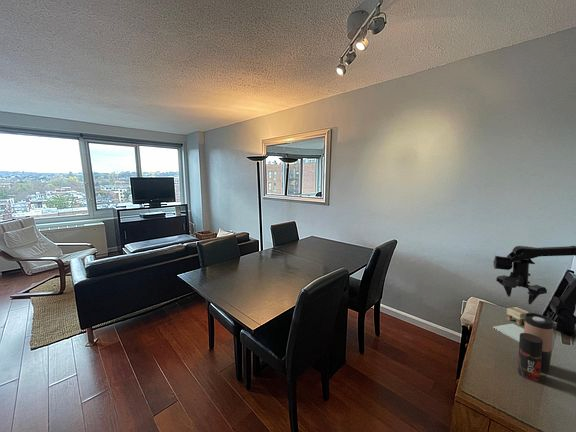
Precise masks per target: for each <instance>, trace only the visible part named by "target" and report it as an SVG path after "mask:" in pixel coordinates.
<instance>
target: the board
mask: <svg viewBox="0 0 576 432" xmlns="http://www.w3.org/2000/svg"><path fill="white" fill-rule="evenodd" d="M494 328H495V329H494ZM492 329H494V330H496V329H497V330H496V331H498V332H499V331H500V333H502V335H503V334H504V335H506V337H508V338H511V339H513V340H515V341H516V342H518V343H519V339H520V333H524V328H523V327H521V326H520V325H518V324H516V323H507V324H502V325H501V324H500V325H495V326H492Z"/></svg>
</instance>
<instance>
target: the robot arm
mask: <svg viewBox="0 0 576 432" xmlns="http://www.w3.org/2000/svg"><path fill="white" fill-rule="evenodd" d="M560 256H561V257H562V256H563V257H565V256H575V257H576V245H569V246H552V247H551V246H547V247H546V246H545V247H533V246H525V245H516V246H514V247H513V249H512V250H511V252H510V253H509V254H507V256H499V255H495V256H494V260H493V267H494V269H495V270H505V271H510V270H512V271H510V273H509V274H510V275H504V274H503V275H497V277H496V279H495V280H496V282H498V283H499V285H501V286H502V287H503V288H504V290H505V293H506V296H507V297H511V295H512V292H513V291H512V289H515V288H517V287H518V288H521V287H522V288H526V289H527V294H528V305H532V303H534V301H535V300H536V299H537V298H538V297H540V295H544V294H548V293H547V292H548V289H547V288H546V287H545V286H541V285H538V284H535V285H531V281H530V280H529V277H530V276H531V273H529V270H530V269H529V268H530V265H535V264H536V262H534V261H533V259H536V258H539V257H560ZM549 303H550V304H549V308H550V309H551V310H552V311H553V312H554V313H555V315H557V318H556V326H553V330H556V331H557V332H560V333H563V334H565V335H567V336H574V335H576V314H575V312H576V278H575V279H574V280H573V281H572V283H571V284H570V285H569V287H567V289H566V290H565V292H564V293H563V295H561V296H559V297H557V296H556V295H555V296H553V297H552V300H551V301H549Z"/></svg>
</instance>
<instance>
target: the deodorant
mask: <svg viewBox="0 0 576 432" xmlns="http://www.w3.org/2000/svg"><path fill="white" fill-rule="evenodd" d="M542 345H543V340H542V339H541V338H539V337H537V336H535V335H532V334H529V333H520V339H519V342H518V356H517V373H518V375H519V376H521V377H523V378H524V379H526V380H528V381H532V382H540V380H541V373H542V372H541V359H542Z"/></svg>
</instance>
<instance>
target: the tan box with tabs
mask: <svg viewBox="0 0 576 432" xmlns="http://www.w3.org/2000/svg"><path fill="white" fill-rule="evenodd" d="M527 313H530V311H528V310H524V309H523V308H520V307H515V306H513V307H508V308H506V320H508V321H512V320H513V319H514V318H515V319H514V320H515V321H516V323H515V325H517V326H521V325H522V323H523V324H525V315H526V314H527Z"/></svg>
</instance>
